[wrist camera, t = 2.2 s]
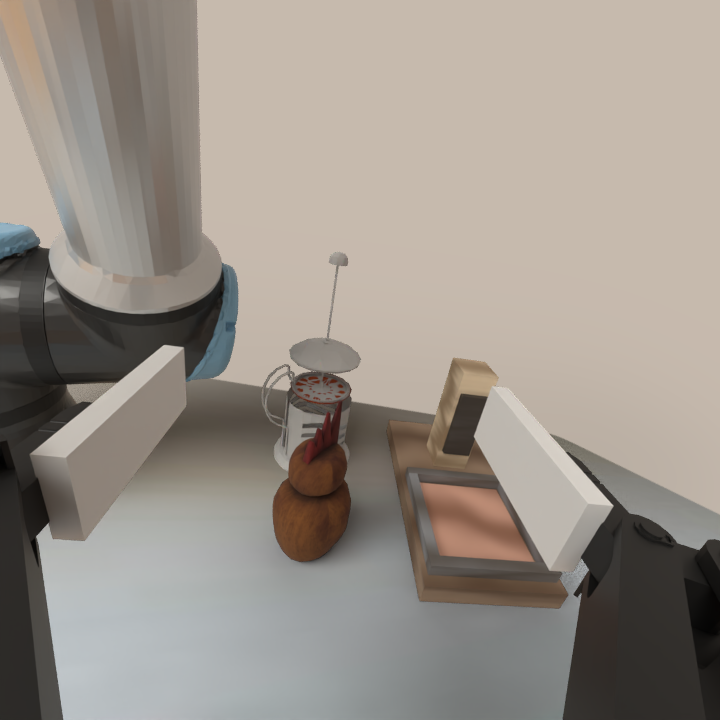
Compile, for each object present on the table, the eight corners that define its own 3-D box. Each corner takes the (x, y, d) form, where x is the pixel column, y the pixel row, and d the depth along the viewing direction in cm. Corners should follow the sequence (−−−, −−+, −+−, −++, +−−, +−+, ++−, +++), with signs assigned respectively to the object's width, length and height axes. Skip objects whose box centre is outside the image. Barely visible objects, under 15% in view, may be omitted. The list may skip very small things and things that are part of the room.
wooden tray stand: (559, 608, 31) (642, 482, 25) (419, 600, 30) (471, 465, 24) (470, 440, 53) (502, 350, 47) (386, 431, 52) (409, 337, 45)
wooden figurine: (322, 507, 37) (343, 384, 31) (352, 551, 33) (383, 420, 27) (260, 532, 33) (270, 398, 27) (285, 586, 29) (303, 442, 23)
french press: (362, 469, 43) (407, 267, 33) (268, 490, 38) (287, 256, 28) (333, 423, 51) (361, 247, 41) (251, 435, 46) (260, 236, 35)
